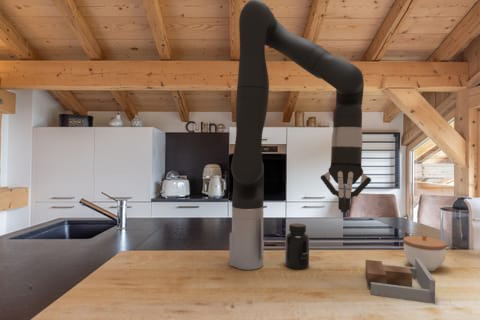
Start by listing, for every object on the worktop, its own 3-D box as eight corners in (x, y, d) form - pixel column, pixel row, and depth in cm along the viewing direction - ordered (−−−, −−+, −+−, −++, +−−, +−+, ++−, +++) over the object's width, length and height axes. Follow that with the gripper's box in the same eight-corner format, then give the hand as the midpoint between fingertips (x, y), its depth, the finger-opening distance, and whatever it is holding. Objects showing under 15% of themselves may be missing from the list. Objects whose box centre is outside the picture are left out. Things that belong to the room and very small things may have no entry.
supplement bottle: (309, 271, 86) (309, 228, 86) (284, 269, 88) (284, 227, 87) (308, 262, 93) (309, 223, 93) (286, 260, 94) (286, 221, 94)
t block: (368, 289, 75) (368, 273, 75) (365, 274, 84) (365, 259, 84) (415, 295, 72) (415, 278, 71) (406, 278, 81) (406, 263, 81)
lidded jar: (405, 270, 87) (405, 237, 86) (401, 259, 96) (401, 229, 96) (450, 276, 83) (450, 241, 82) (441, 263, 92) (441, 232, 92)
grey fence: (370, 294, 72) (371, 273, 72) (366, 271, 86) (366, 253, 86) (434, 303, 68) (435, 280, 68) (419, 277, 82) (419, 258, 82)
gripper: (319, 144, 79) (316, 212, 79) (375, 145, 74) (372, 217, 75) (321, 145, 86) (319, 207, 86) (373, 146, 81) (370, 211, 82)
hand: (344, 211), depth 80 cm, fingers closed
